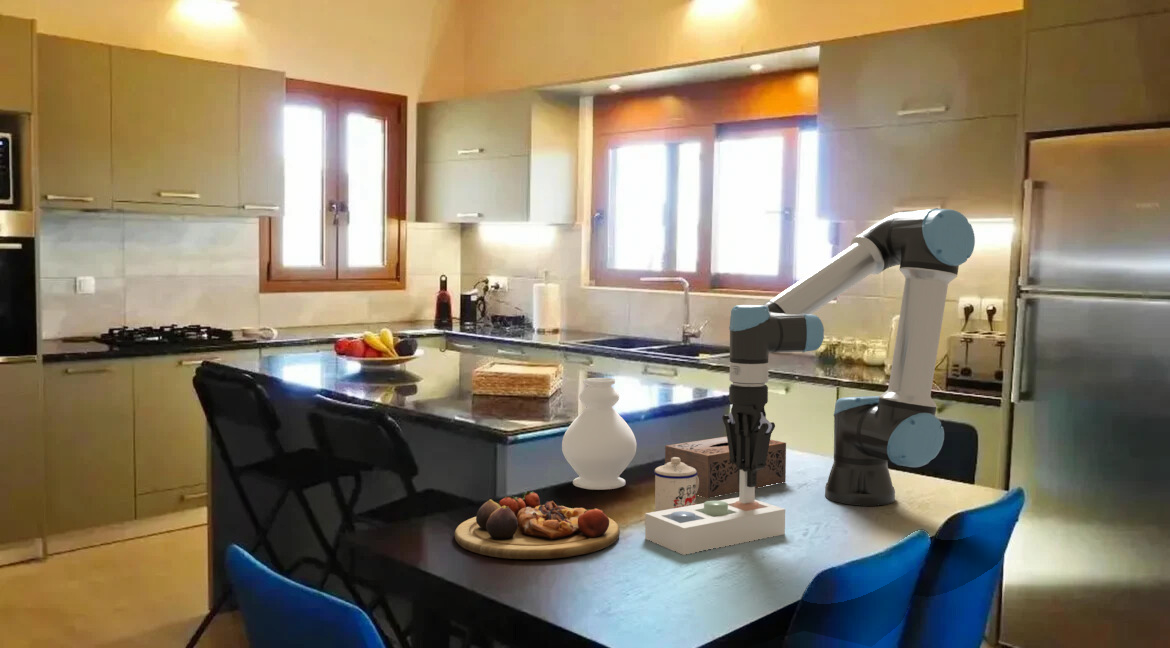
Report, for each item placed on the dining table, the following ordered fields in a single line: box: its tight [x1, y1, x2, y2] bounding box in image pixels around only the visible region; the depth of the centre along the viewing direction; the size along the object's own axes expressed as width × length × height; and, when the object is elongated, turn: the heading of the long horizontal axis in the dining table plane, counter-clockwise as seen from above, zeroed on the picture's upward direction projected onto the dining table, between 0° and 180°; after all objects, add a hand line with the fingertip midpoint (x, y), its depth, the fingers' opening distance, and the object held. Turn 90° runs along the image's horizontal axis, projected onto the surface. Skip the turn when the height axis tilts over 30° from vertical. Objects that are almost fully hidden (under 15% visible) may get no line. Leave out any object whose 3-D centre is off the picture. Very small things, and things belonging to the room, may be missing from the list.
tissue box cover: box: [664, 435, 787, 499], centre depth 230 cm, size 26×14×10 cm, turn 127°
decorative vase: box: [561, 377, 637, 491], centre depth 231 cm, size 18×18×25 cm
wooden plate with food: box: [454, 490, 621, 560], centre depth 188 cm, size 32×32×8 cm
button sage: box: [703, 500, 728, 517], centre depth 187 cm, size 5×5×4 cm
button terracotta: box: [735, 501, 759, 511], centre depth 192 cm, size 5×5×4 cm
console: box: [644, 496, 786, 556], centre depth 188 cm, size 25×12×5 cm, turn 122°
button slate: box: [671, 511, 695, 523], centre depth 183 cm, size 5×5×4 cm
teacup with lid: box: [653, 457, 699, 512], centre depth 207 cm, size 12×9×12 cm
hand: (746, 501), depth 192 cm, fingers closed
